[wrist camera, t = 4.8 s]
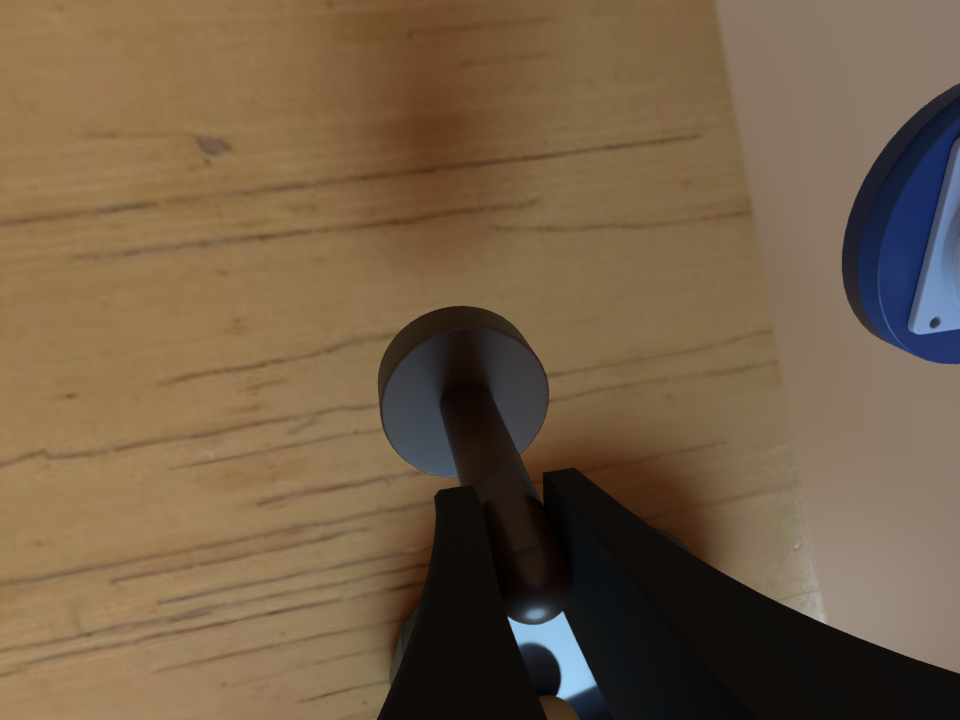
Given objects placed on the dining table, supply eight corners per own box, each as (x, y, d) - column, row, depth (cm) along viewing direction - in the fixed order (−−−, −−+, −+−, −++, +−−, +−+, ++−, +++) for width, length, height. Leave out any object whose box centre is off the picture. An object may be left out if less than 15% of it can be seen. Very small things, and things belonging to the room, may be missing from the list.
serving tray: (723, 482, 26) (769, 531, 23) (693, 715, 33) (727, 776, 30) (368, 547, 24) (371, 610, 21) (411, 785, 30) (417, 858, 27)
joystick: (531, 295, 16) (685, 472, 9) (534, 435, 18) (664, 678, 11) (367, 315, 16) (383, 524, 8) (387, 458, 18) (416, 735, 10)
